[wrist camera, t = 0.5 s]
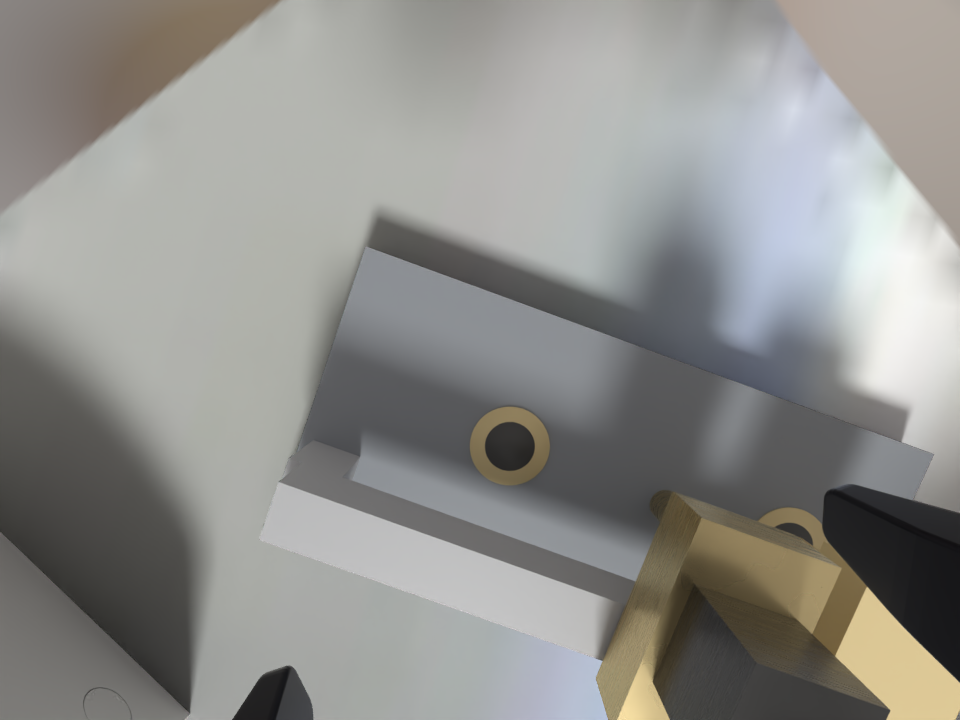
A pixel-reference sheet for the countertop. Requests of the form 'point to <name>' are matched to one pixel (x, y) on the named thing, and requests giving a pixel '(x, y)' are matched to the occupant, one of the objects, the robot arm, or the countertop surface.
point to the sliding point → (727, 626)
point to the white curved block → (65, 657)
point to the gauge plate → (564, 471)
